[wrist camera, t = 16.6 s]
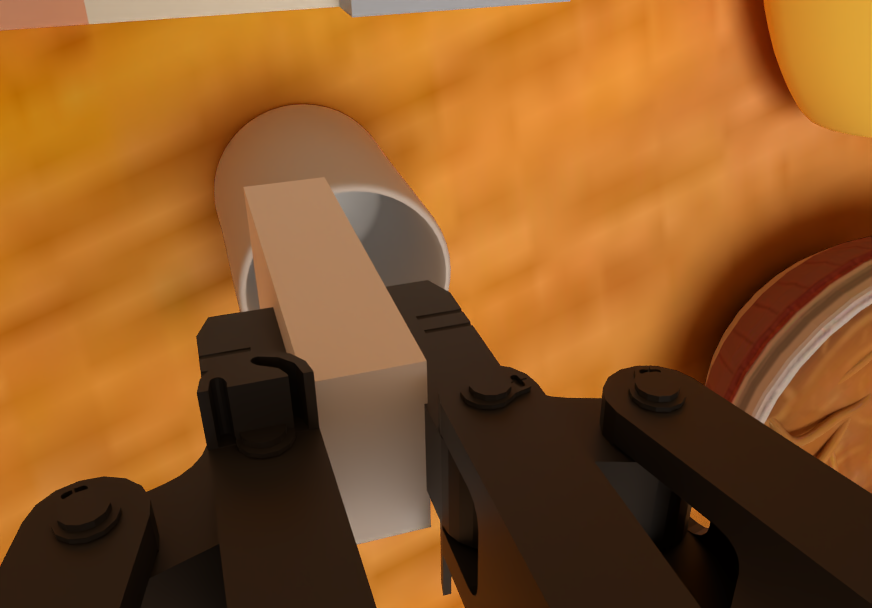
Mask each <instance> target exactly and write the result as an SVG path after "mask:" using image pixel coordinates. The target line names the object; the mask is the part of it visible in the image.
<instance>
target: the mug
mask: <svg viewBox="0 0 872 608" xmlns="http://www.w3.org/2000/svg"><path fill="white" fill-rule="evenodd" d="M321 177H325V179H326V181H327V183H328V184H329V186H330V188H331V190H332V192H333V193H334V195H335V197H336V199H337V201H338V202H339V204H340V206H341V208H342V210H343V211H344V213H345V215H346V217H347V218H348V220H349V222H350V224H351V226H352V227H353V229H354V231H355V233H356V235H357V236H358V238H359V240H360V242H361V244H362V245H363V247H364V249H365V251H366V253H367V254H368V256H369V258H370V260H371V262H372V263H373V265H374V267H375V269H376V271H377V272H378V274H379V276H380V278H381V280H382V281H383V283H384V285H385V287H387V286H393V285H399V284H406V283H412V282H418V281H424V280H429V281H431V282H432V283H434V284H436V285H438V286H439V287H441V288H443V289H445V290H447V291H448V289H449V283H450V269H451V267H450V257H449V252H448V248H447V244H446V241H445V239H444V236H443V234H442V232H441V229H440V228H439V226H438V224H437V223H436V221H435V219H434V218H433V216H432V215H431V214H430V212H429V211H428V210H427V208H426V207H425V206H424V205H423V203H422V202H421V201H420V200H419V198H418V197H417V196H416V194H415V193H414V192H413V191H412V189H411V188H410V187H409V185H408V184H407V183H406V182H405V180H404V179H403V178H402V176H401V175H400V174H399V173H398V171H397V170H396V169H395V168H394V166H393V165H392V164H391V162H390V161H389V160H388V158H387V157H386V156H385V154H384V153H383V151H382V150H381V148H380V147H379V145H378V144H377V143H376V141H375V140H374V139H373V138H372V136H371V135H370V134H369V133H368V132H367V131H366V130H365V129H364V128H363V127H362V126H361V125H360V124H359V123H357V122H356V121H354V120H353V119H352V118H350V117H349V116H347V115H345V114H343V113H341V112H339V111H336V110H333V109H331V108H328V107H323V106H318V105H309V104H297V105H288V106H283V107H279V108H276V109H273V110H270V111H268V112H265V113H263V114H261V115H259V116H257V117H256V118H254V119H253V120H251V121H250V122H248V123H247V124H246V125H245V126H244V127H243V128H241V129H240V130H239V131H238V132H237V134H236V135H235V136H234V137H233V138H232V139H231V141H230V142H229V144H228V145H227V147H226V148H225V150H224V152H223V154H222V156H221V158H220V161H219V164H218V167H217V170H216V176H215V182H214V197H215V206H216V211H217V214H218V218H219V222H220V225H221V229H222V233H223V237H224V242H225V246H226V251H227V255H228V260H229V265H230V269H231V274H232V278H233V283H234V287H235V292H236V296H237V300H238V304H239V308H240V312H245V311H251V310H258V309H260V305H259V298H258V291H257V283H256V276H255V269H254V261H253V254H252V247H251V240H250V232H249V225H248V218H247V210H246V203H245V196H244V188H243V187H247V186H256V185H264V184H272V183H280V182H288V181H296V180H304V179H312V178H321Z"/></svg>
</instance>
